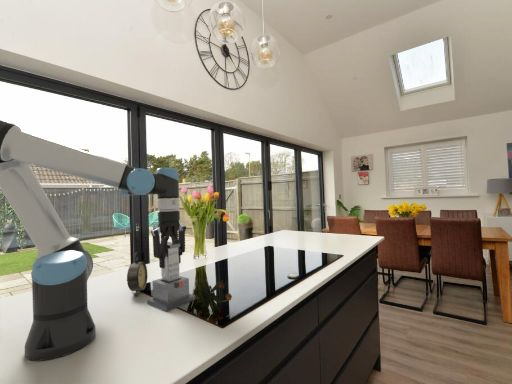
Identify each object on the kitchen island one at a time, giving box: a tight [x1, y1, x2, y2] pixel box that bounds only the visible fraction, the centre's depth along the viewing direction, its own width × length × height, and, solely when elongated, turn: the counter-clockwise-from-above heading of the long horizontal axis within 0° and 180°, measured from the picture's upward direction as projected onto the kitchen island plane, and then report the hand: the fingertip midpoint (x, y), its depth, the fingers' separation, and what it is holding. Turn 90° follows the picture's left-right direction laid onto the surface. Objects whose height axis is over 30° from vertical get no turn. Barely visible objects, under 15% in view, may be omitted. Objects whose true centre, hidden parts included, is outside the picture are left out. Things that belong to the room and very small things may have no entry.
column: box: [161, 241, 180, 283], centre depth 96 cm, size 4×6×19 cm
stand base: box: [146, 275, 196, 313], centre depth 96 cm, size 12×12×8 cm
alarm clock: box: [126, 251, 148, 297], centre depth 106 cm, size 11×5×16 cm, turn 5°
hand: (170, 274), depth 96 cm, fingers closed on column, 4 cm apart
